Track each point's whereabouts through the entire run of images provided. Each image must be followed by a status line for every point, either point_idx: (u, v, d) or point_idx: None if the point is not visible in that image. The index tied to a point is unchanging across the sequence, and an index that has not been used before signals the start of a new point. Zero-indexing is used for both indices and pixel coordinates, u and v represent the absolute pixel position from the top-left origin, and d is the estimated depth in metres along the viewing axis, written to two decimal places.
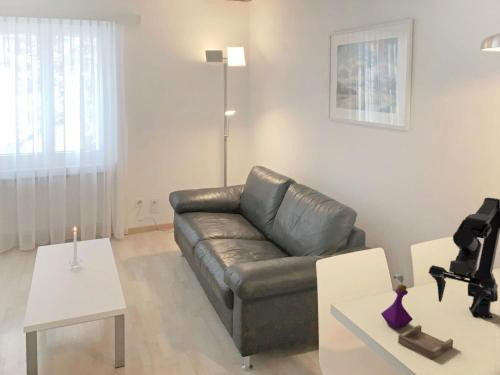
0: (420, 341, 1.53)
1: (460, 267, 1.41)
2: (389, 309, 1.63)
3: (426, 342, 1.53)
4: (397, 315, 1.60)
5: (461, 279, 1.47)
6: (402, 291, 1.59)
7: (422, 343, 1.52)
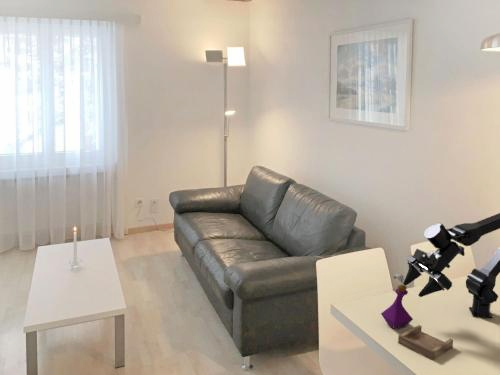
0: (420, 341, 1.53)
1: (419, 254, 1.60)
2: (389, 309, 1.63)
3: (426, 342, 1.53)
4: (397, 315, 1.60)
5: (427, 271, 1.63)
6: (402, 291, 1.59)
7: (422, 343, 1.52)
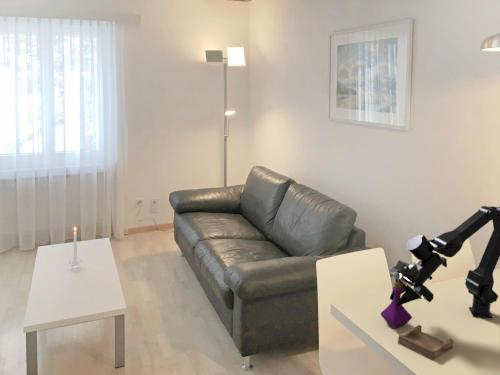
0: (420, 341, 1.53)
1: (401, 265, 1.59)
2: (388, 308, 1.64)
3: (426, 342, 1.53)
4: (396, 313, 1.61)
5: (409, 283, 1.62)
6: (399, 288, 1.60)
7: (422, 343, 1.52)
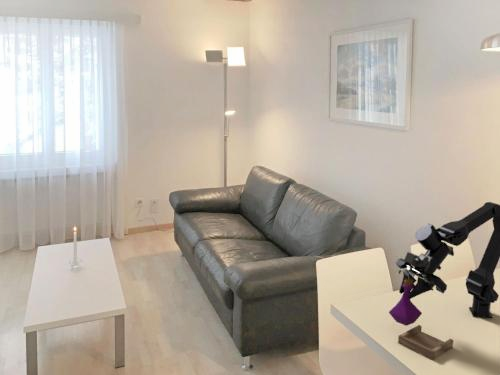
0: (420, 341, 1.53)
1: (412, 257, 1.53)
2: (397, 306, 1.58)
3: (426, 342, 1.53)
4: (408, 311, 1.56)
5: (418, 274, 1.57)
6: (410, 285, 1.55)
7: (422, 343, 1.52)
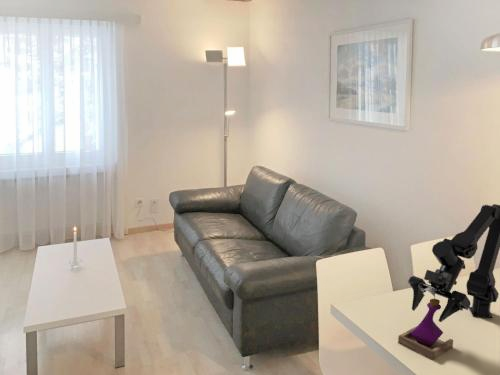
0: None
1: (434, 275, 1.47)
2: (421, 327, 1.50)
3: None
4: (433, 332, 1.49)
5: (437, 292, 1.51)
6: (437, 305, 1.48)
7: None
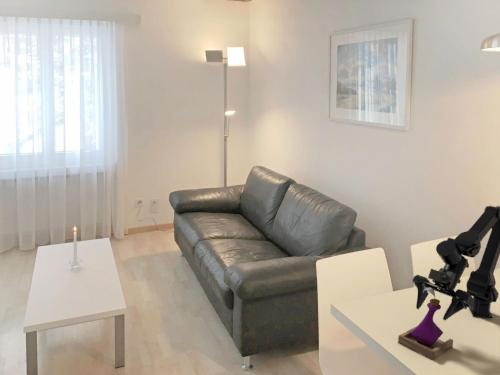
0: None
1: (438, 274, 1.48)
2: (421, 327, 1.50)
3: None
4: (433, 332, 1.49)
5: (441, 290, 1.53)
6: (437, 305, 1.48)
7: None
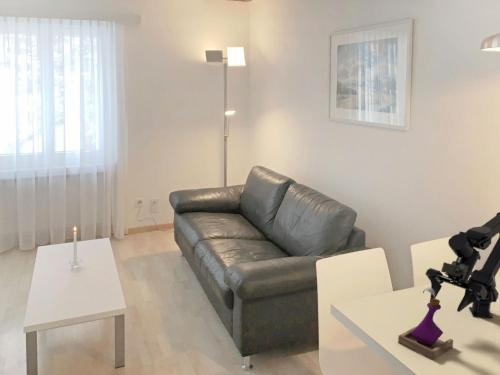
0: None
1: (451, 267, 1.52)
2: (421, 327, 1.50)
3: None
4: (433, 332, 1.49)
5: (454, 283, 1.57)
6: (437, 305, 1.48)
7: None
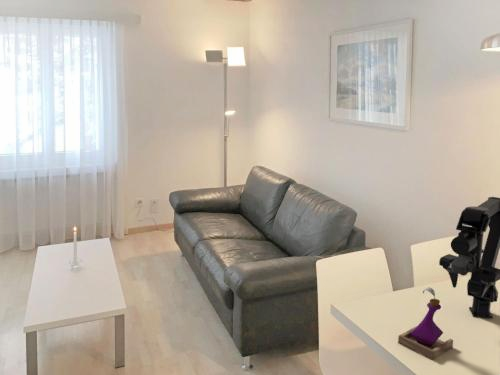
0: None
1: (459, 269, 1.52)
2: (421, 327, 1.50)
3: None
4: (433, 332, 1.49)
5: None
6: (437, 305, 1.48)
7: None
